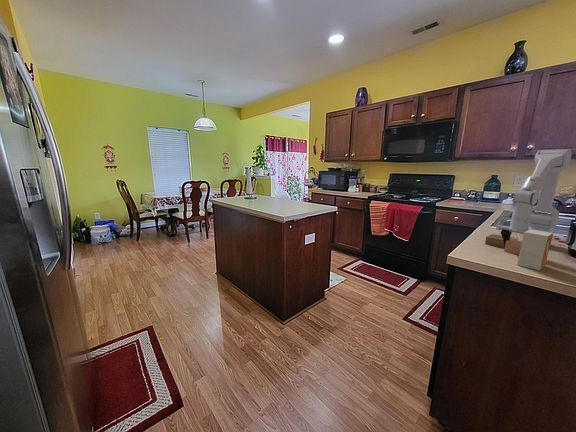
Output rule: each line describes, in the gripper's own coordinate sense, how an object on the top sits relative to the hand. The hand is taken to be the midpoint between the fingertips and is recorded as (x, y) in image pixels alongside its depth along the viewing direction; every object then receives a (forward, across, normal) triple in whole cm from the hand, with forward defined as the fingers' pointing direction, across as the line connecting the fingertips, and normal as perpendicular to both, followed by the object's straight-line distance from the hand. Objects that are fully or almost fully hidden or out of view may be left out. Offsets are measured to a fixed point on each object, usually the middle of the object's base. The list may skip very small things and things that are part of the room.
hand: (514, 249), depth 103 cm
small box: (+2, +9, -13) cm, 16 cm away
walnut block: (+2, -7, +7) cm, 10 cm away
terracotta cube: (+1, 0, 0) cm, 1 cm away
